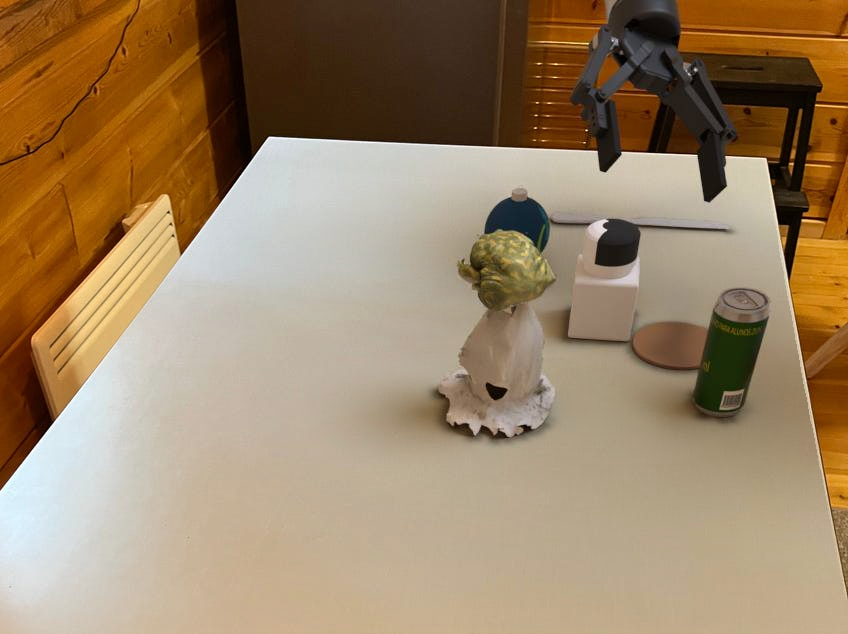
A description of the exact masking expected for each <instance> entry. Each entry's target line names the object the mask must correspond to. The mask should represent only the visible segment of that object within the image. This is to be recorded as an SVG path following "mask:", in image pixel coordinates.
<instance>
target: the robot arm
mask: <svg viewBox="0 0 848 634" xmlns="http://www.w3.org/2000/svg"><path fill="white" fill-rule="evenodd" d="M603 3H604V11H605V19H606V23H607V24H606V23H603V24H602V25H601V26H600V28H599V29H598V30H597V32H596V33H595V35H593V37H592V39H591V40H590V41H589V42H588V58H587V59H586V62H585V64H584V66H583V68H582V70H581V72H580V74H579V77H578V79H577V81H576V83H575V85H574V87H573V88H572V91H571V94H570V95H569V102H570V103H571V104H572V105H573V106H576V107H578V106H579V105H581V106H583V108H582V110H581V111H580V112H579V114H580V118H581V119H582V120H583V121H586V122H588V125H589V132H590V135H591V136H592V137H593V138H595V143H596V149H597V150H596V151H597V153H596V154H597V159H598V160H597V161H598V166H599V167H598V168H599V172H602V173H605V174H606V173H608V171H609V170H610V169H611V168H612V166H613V165H614V164H615V163H616V162H617V161H618V160H619V159H620V158H621V156H623V153H622V145H621V136H620V129H619V122H618V114H617V106H616V105H617V104H616V101H615V100H612V99H611V98H612V97H613V96H614V95H615V94H616V93H617V92H618V90H620V89H621V88H622V87H624V85H625V84H626V83H628V82H629V83H630V84H631V85H632V86H633V89H636V90H642V91H646V92H648V93H650V94H652V95H655V96H657V98H658V99H659V100H660V102H661V103H662V104H663V105H664V106H669V107H670V108H671V109H672V110H673V112H674V113H675V114H676V116H677V117H678V118H679V120H680V121H681V122H682V123H683V125H684V127H685V128H686V129H687V130H688V131H689V133H690V134H691V136H692V137H693V138H694V139H695V141H696V142H697V144H698V145H699V148H697V149H696V158H697V162H698V170H699V176H700V177H699V178H700V185H701V190H702V197H703V202H705V203H709V204H710V203H711V202H712V201H714V199H715V198H716V197H717V196H719V195H720V194H721V193H722V192H723V191H724V190H726V188H727V187H728V182H727V176H726V170H725V169H726V168H725V167H726V165H727V158H726V152H725V148H726V147H727V146H728V145H729V144H730V143H731V142H732V141H733V140H734V139H735V138H736V137H737V136H738V133H739V132H738V130H737V128H736V126H735V125H734V123H733V121H732V119H731V117H730V115H729V113H728V111H727V109H726V108H725V106H724V104H723V102H722V101H721V99H720V97H719V95H718V93H717V91H716V89H715V88H714V86H713V84H712V82H711V79H710V78H709V76H708V72H707V69H706V65H705V62H704V60H703V59H701V58H700V57H696V58H695V59H694V60H693V62H692V63H690V62H685V61H684V59H683V57H682V55H681V54H680V52H679V45H680V39H681V35H682V34H681V33H682V24H681V20H680V19H681V18H680V12H679V11H680V10H679V5H678V0H603ZM609 55H611V57H612V59H613V61H614V62H615V64H616V65H617V66H618V67H619V68H618V69H617V70H616V71H615V72H614V73H613V74H612V75H611V76H610V77H609V78H608V79H607V80H606V81H605V82H604V83H603V85H601V86H600V87H599V88H598V89H597V88H594V87H593V86H594V85H595V82H596V80H597V78H598V77H599V74H600V72H601V69H602V67H603V65H604V63H605V60H606V58H607V57H608V56H609ZM675 80H677V83H676V84H675V85H674V87H673V88H672V89H671V90H670V91H668V90H667V89H668V88H669V87H670V86H671V84H672V83H673V82H674V81H675Z"/></svg>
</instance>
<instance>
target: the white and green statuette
mask: <svg viewBox="0 0 848 634" xmlns="http://www.w3.org/2000/svg"><path fill="white" fill-rule="evenodd" d="M476 236H477V237H479V238H478V240H477V241H475V242H474V243H473V245H472V248H471V251H470V254H469V263H470V264H468V263H466V259H465V258H464V257H463V258H462V259H461V260H460V259H457V261H456V263H455V264H454V265H455V266H457V274H458V276H459V277H460V278H461V279H462V280H463V281H465V282H467V283H469V284H470V285H471V290H474V291H476V292H477V298H478V299H479V302H480V303H481V304H482V305H483V307H485V308H486V310H485V312H484V313H483V314H482V316H481V318H480V319H479V320H478V322H476V324H475V325H474V327H473V329H472V331H471V332H470V334H469V335H467V336H466V337H467V338H466V339H465V341H464V344H463V345H462V346H461V348H459V351H458V354H457V358H458V359H459V360H458V362H459V366H460V367H463V368H461V369H458V370H456V371H454V372H446V373H445V374H444V378H443V379H441V381H440V382H439V384H438V392H439V393H440V394H442V395H445V398H447V399H448V400H449V408H448V411H447V413H446V414H445V415H446V418H445V419H446V422H447V423H449V424H450V425H451V426H453V427H455V424H457V426H458V425H459V426H460V425H462V424H468V427H469V428H470V430H471V431H472V432H473V433H472V434H473V435H474V436H477V434H478V433H479V432H480V430H481V427H482V426H483V427H486V428H488V429H489V430H490V431H491V432H492V435H493V436H495V435H496V434H498V431H499V432H502V433H505V436H506V437H508V438H512V437H514V436H515V434H516V435H517V436H519V435H520V434H522V433H523V432H524V428H523V427H521V426H523V425H526V426H527V427H530V429H531V430H537V428H539V427H540V426H542V425H543V423H544V422H545V420H546V418H548V415H549V413H550V412H551V411H550V409H551V405H552V404H553V402H554V398H555V395H556V391H555V387H554V385H552V384H551V382H550V380H549V378H548V377H547V376H545V374H544V373H543V362H544V356H543V355H544V354H543V350H544V345H545V337H544V333H543V332H544V331H543V329H542V328H543V327H542V325H541V323H540V321H539V319H538V315H537V314H536V313H535V311H534V309H533V308H532V306H531V303H530V302H532V301H534V300H536V299H539V298H540V297H542V295H544V293H545V292H546V290H547V289H548V288H550V286H552V285H553V284H554V283H555V282H557V281H556V280H557V274H555V273H553V271H552V268H551V266H550V265H549V262H548V260H547V259H546V258H543V256H542V253H541V254H540V253H539V251H538V250H537V248H536V247H534V243H533V241H532V240H531V239H529V238H528V237H526V236H524V235H523V234H521V233H519V232H516V231H503V230H501V229H498V230H496V231H495V232H494V233H491V234H484V233H483V234H481V235H480V234H477V235H476ZM488 383H489V384H491V385H492V386H494V387H499V388H504V389H506V390H507V391H506V392H505V394H504V396H502V397H501V398H499V399H496V400H495V399H493V398H492V397H491V396H490V394H489V392H488V390H487V387H486V384H488Z"/></svg>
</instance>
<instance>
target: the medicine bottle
mask: <svg viewBox="0 0 848 634" xmlns="http://www.w3.org/2000/svg"><path fill="white" fill-rule="evenodd" d="M584 234H585V235H584V241H583V248H582V253H579V254H578V255H577V259H576V267H575V274H574V280H573V289H572V296H571V297H572V298H571V307H570V308H571V309H570V313H569V314H570V315H569V323H568V332H567V337H568V338H570V339H584V340H596V341H597V340H599V341H612V342H629V341H630V339H631V334H632V328H633V324H634V323H633V322H634V316H635V311H636V305H637V299H638V294H639V289H640V288H639V287H640V266H641V265H640V264H641V263H640V262H641V259H640V257H639V256H638V253H639V248H640V241H641V235H642V232H641V230H640V229H639V227H638V226H637V224H633V223H631V222H628V221H625V220H622V219H604V220H599V221H596V222H594V223H590V224H589V226H588V227H586V229H585V233H584Z"/></svg>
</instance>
